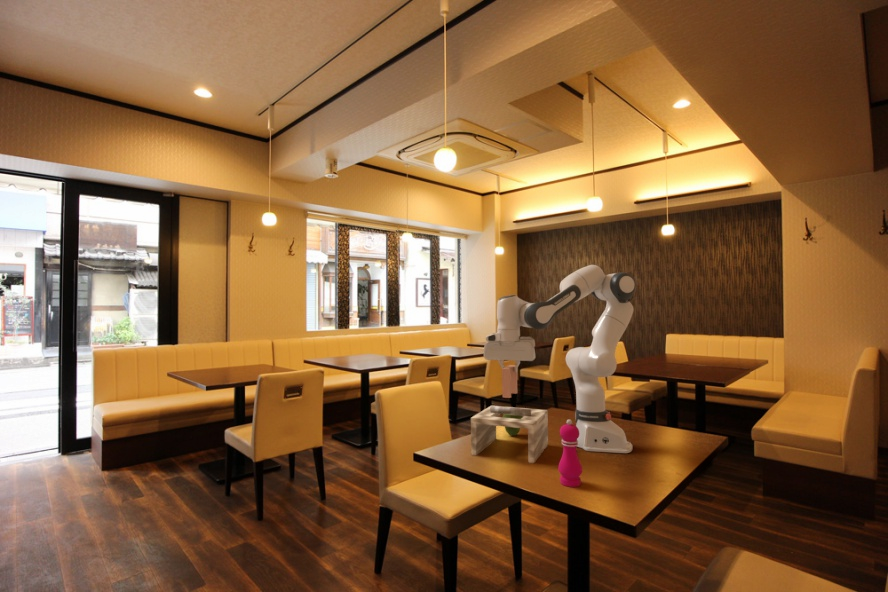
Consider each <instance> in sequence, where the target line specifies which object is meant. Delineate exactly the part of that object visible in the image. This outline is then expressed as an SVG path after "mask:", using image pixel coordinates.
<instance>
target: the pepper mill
mask: <svg viewBox="0 0 888 592" xmlns="http://www.w3.org/2000/svg"><path fill="white" fill-rule="evenodd" d="M559 435H560V437H561V445H562V449H563V450H562V451H563V452H562V454H561V455H562V456H561V458H560V461H559V463H558V470H557V471H558V472H559V474H560V476H559V477H560V478H559V483H560V484H561V485H562V486H565V487H569V488H576V487H580V486H581V485H582V483H581V482H582V480H581V477H580V476H581V475H582V474H583V467H582V463H581V461H580V459H579V457H578V453H577V449H578V448H577V445H578V440H577V438H578V437H579V429H578V428H577V427H576V425H574V424H573V421H572V419H567V420H566V424H563V425H562V426H561V427H560V429H559Z"/></svg>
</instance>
